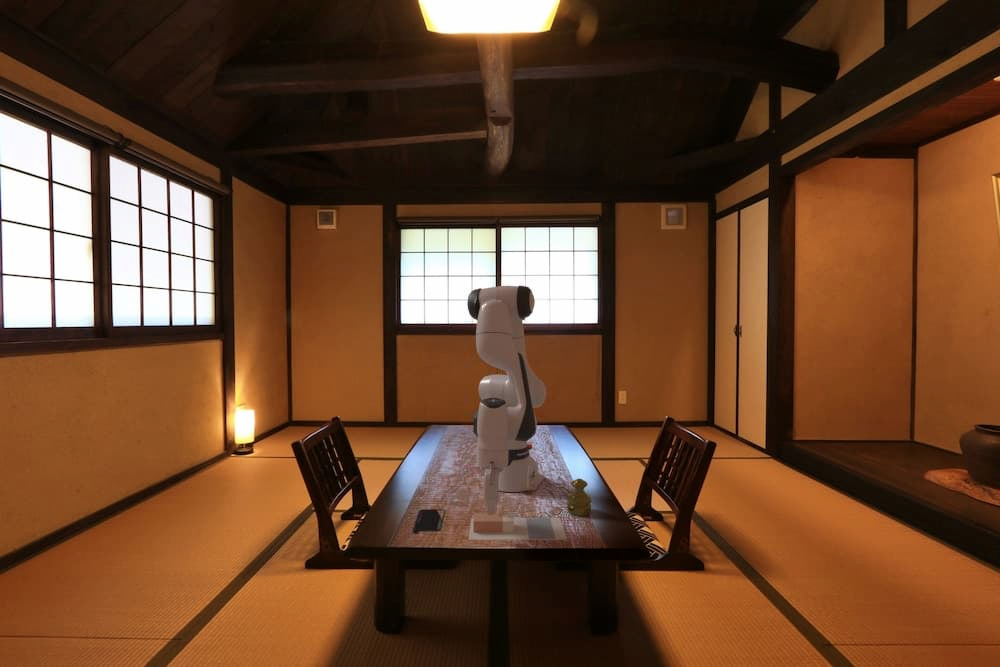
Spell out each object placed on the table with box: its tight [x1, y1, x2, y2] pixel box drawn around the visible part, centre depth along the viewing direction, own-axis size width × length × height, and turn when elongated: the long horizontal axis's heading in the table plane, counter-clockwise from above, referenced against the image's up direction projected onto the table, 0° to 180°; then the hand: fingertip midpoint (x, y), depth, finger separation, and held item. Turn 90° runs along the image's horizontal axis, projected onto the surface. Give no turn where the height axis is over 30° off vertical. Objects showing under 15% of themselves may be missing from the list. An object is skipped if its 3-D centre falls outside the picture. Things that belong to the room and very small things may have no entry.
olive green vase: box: [566, 478, 593, 517], centre depth 150 cm, size 7×7×10 cm
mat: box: [468, 517, 568, 541], centre depth 137 cm, size 14×26×1 cm, turn 90°
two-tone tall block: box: [473, 513, 514, 532], centre depth 137 cm, size 11×5×3 cm, turn 90°
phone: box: [412, 508, 446, 534], centre depth 142 cm, size 8×1×15 cm
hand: (491, 507), depth 136 cm, fingers open, 8 cm apart
